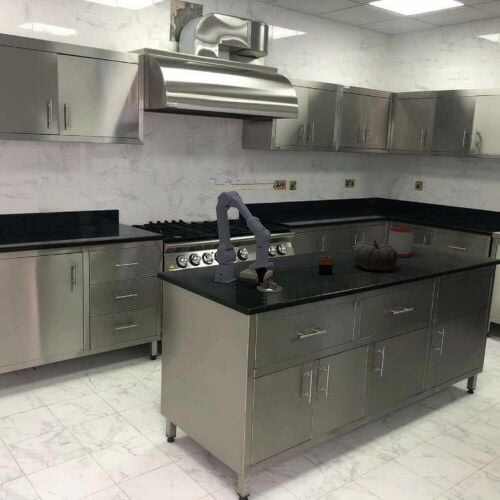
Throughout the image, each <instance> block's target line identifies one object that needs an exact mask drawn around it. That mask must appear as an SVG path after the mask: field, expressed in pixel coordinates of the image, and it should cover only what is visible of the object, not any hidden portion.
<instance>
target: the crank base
mask: <svg viewBox="0 0 500 500" xmlns="http://www.w3.org/2000/svg"><path fill="white" fill-rule="evenodd" d="M256 289H257V290H258V291H259V292H263V293H279V292H283V287H282V286H281V285H278V284H277V289H272V288H270V287H266V286H265V285H262V284H259V285H257V286H256Z"/></svg>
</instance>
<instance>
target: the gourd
mask: <svg viewBox="0 0 500 500" xmlns="http://www.w3.org/2000/svg"><path fill="white" fill-rule="evenodd" d="M373 244H374V245H373ZM373 244H371V243H370V242H368V241H365V240H364V241H363V240H361V241H358V242H357V243H356V244H355V245H354V246H353V250H352V257H353V259H354V262H355V263H356V264H357V265H358V266H360V268H363V269H364V270H368V271H375V270H377V271H379V272H386V271H389V270H391V269H392V268H394V267H395V266H396V265H397V262H398V258H399V257H398V254H397V252H396V250H395V249H394V248H393V247H392V246H391V245H389V244H388V243H380V244H378V243H377V241H376V239H373Z"/></svg>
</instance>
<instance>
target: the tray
mask: <svg viewBox="0 0 500 500" xmlns="http://www.w3.org/2000/svg"><path fill="white" fill-rule="evenodd" d="M273 273H274V270H271V269H268V271H267V272H266V274H265V276H264V279H266V280H267V279H270V278H271V277H272V276H274V275H273ZM256 277H258V276H257V274H252V270H249V267H248V268H246V269H244V270H241V271H240V272H239V278H241V279H250V280H255V281H256Z"/></svg>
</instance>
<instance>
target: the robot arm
mask: <svg viewBox="0 0 500 500" xmlns="http://www.w3.org/2000/svg"><path fill="white" fill-rule="evenodd" d="M231 208H234V209H236V210H237V211H238V212H239V214H240V215H242V217H243V219H245V221H246V225H247V227H248V229H249V230H250V231H251V232H252V233H253V235H254V236H253V237H254V240H255V243H256V246H255V247H256V248H255V250H256V251H255V262H254V263H255V264H254V263H252V264H253V265H252V264H250V265H248V268H249V270H253V269H255V271H256V273H257V276H258V284H260V283H263V278H264V276H265V274H266V272H267V271H268V270H269V269H268V268H273V267H274V266H275V263H274V262H272V261H269V262H268V259H269V242H270V240H271V238H272V233H271V232H270V230H269V229H267V228H266V227H265V226H263V224H262V223H261V221H260V218H259V217H257V216H253V215H252V213H251V212H250V210H249V209H248V207H247V206H246V204H245V202H244V201H243V198H242V196H241V195H240V194H239V193H238V192H237V191H235V190H231V191H223V192H220V194H219V195H218V196H217V204H216V206H215V213H216V221H217V222H216V223H217V229H218V230H217V232H218V241H219V244H218V246H217V248H216V254H215V258H216V261H217V262H218V265H217V266H216V268H215V275H214V276H215V277H214V280H213V282H215V283H216V282H217V283H222V284H230V283H231V282H233V281H236V280H237V278H234V276H233V275H234V263H235V259H236V258H237V252H236V250H235V246H234V245H233V243H232V242H231V233H230V224H229V223H230V222H229V215H228V212H229V210H230V209H231Z"/></svg>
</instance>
